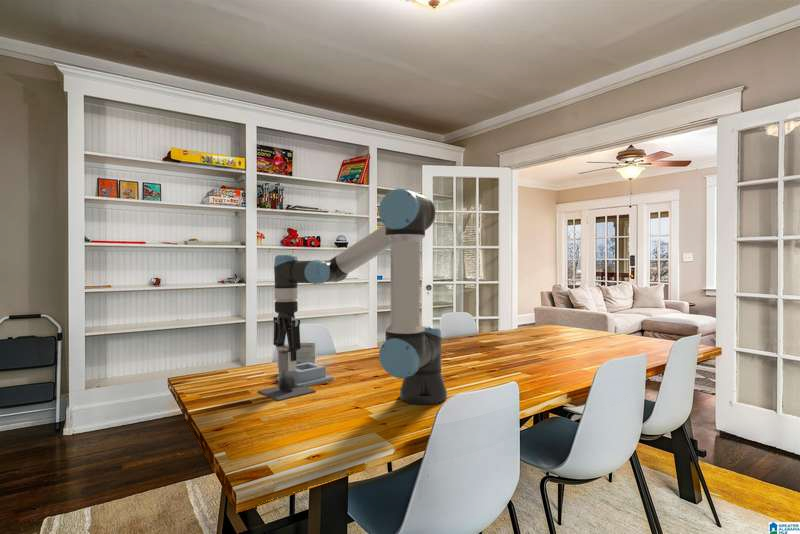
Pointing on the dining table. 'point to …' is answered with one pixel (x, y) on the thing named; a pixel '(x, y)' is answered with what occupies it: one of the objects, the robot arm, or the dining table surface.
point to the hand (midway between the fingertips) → (286, 368)
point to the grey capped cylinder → (285, 369)
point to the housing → (310, 374)
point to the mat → (285, 392)
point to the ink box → (306, 352)
